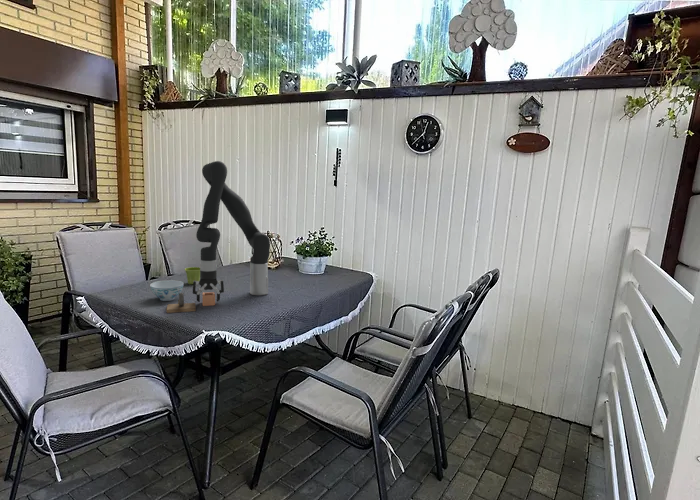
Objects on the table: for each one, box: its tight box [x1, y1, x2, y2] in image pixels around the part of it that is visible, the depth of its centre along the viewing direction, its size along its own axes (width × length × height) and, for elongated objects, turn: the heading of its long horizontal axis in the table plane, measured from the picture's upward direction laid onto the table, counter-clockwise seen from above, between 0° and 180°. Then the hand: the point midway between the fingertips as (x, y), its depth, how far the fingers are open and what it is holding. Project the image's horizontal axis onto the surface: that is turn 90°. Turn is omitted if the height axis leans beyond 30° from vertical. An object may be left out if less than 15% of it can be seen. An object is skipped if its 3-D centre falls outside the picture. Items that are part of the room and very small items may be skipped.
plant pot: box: [184, 266, 200, 285], centre depth 222 cm, size 9×9×9 cm
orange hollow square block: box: [201, 291, 216, 307], centre depth 187 cm, size 6×6×5 cm
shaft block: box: [166, 292, 197, 314], centre depth 177 cm, size 12×8×8 cm, turn 112°
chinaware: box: [149, 279, 184, 302], centre depth 191 cm, size 15×15×8 cm
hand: (208, 301), depth 187 cm, fingers open, 8 cm apart
